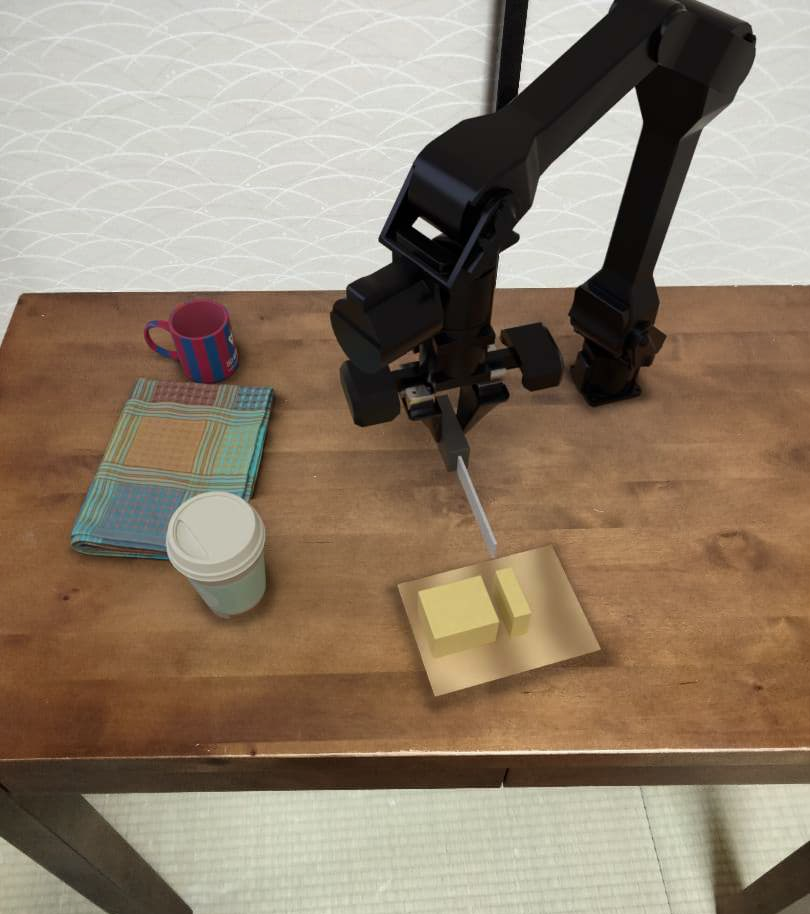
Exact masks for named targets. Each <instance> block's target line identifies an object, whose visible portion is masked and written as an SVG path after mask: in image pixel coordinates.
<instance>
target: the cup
mask: <svg viewBox="0 0 810 914" xmlns="http://www.w3.org/2000/svg"><path fill="white" fill-rule="evenodd" d="M153 328H159V329H163V330H165V331H167V332H168V333H170V335H171V338H172V341H173V345H174V348H175V350H170V349H166V348H164V347H162V346H159V345H158V344H157V343H156V342H155V341H154V340H153V338H152V337H151V335H150V330H151V329H153ZM143 337H144V340H145V343H146V344H147V346H148V348H149V349H151V350H152V351H153V352H154V353H156V354H158V355H160V356H162V357H165V358H167V359H173V360H177V361H179V363H180V366H181V369H182V371H183V374H184V375H185V376H186V377H187V378H188V379H190V380H191V381H193V382H195V383H205V384H214V383H218V382H222V381H224V380H227V378H229V377H230V376H232V375H233V374H234V372H235V371H237V368H238V366H239V362H240V358H239V353H238V350H237V346H236V341H235V336H234V333H233V328H232V323H231V319H230V316H229V312H228V310H227V308H226V307H225V306H224V305H223V304H221V302H218V301H216V300H213V299H207V298H206V299H205V298H201V299H192V300H189V301H186V302H184V303H181V304H180V305H178V306H177V307H176V308H174V309H173V310H172V312H171V313H170V315H169V317H168V321H167V320H161V319H160V320H159V319H154V320H150V321H148V322H147V323H146V324H145V326H144V328H143Z"/></svg>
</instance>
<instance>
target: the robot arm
mask: <svg viewBox="0 0 810 914" xmlns="http://www.w3.org/2000/svg"><path fill="white" fill-rule="evenodd" d="M756 45H757V35H756V34H754V31H753V27H752V24H750V23H749V22H748V21H746V20H744V19H741V18H738V17H736V16H734V15H732V14H730V13H728V12H724V11H722V10H720V9H718V8H716V7H713V6H711V5H709V4H706V3H704V2H701V1H699V0H613V1H612V3H611V4H610V6H609V9H608V11H607V13H606V14H605V15H604V16H603V17H602V18H601V19H599V21H597V22H596V23H595V24H594V25H593V26H592V27H591V28H590V29H589V30H588V31H586V32H585V33H584V34H583V35H582V36H581V37H580V38H579V39H578V40H576V42H574V43H573V44H572V45H571V46H570V47H569V48H568V49H567V50H566V51H565V52H563V53H562V54H561V55H560V56H559V57H558V58H557V59H556V60H555V61H554V62H552V63H551V64H550V65H549V66H548V67H547V68H546V69H544V71H542V72H541V73H540V74H539V75H538V76H537V77H535V79H533V80H532V81H531V82H530V83H529V84H528V85H527V86H526V87H525V88H524V89H523V90H522V91H520V93H518V94H517V95H516V96H515V97H513V99H512V100H511V101H509V103H507V104H506V105H504V106H503V107H502V108H500V109H498V110H497V111H494V112H491V113H486V114H481V115H477V116H473V117H469V118H465V119H462V120H461V121H459V122H457V123H456V124H455V125H453V126H451V127H450V128H448V129H447V130H446V131H444V132H443V133H441V134H439V135H438V136H436V137H435V138H433V139H432V140H431V141H430V142H428V143H427V144H426V145H424V147H423V148H422V149H421V150H420V151H419V153H417V155H416V157H415V158H414V160H413V161H412V164H411V166H410V168H409V171H408V173H407V174H406V177H405V179H404V182H403V183H402V186H401V188H400V190H399V192H398V194H397V197H396V199H395V201H394V203H393V205H392V207H391V210H390V212H389V214H388V216H387V218H386V220H385V223H384V225H383V227H382V228H381V231H380V232H379V235H378V238H377V241H378V243H379V244H381V245H382V246H383V247H385V248H386V249H388V250H389V251H390V252H391V262H390V263H388V264H386V265H384V266H382V267H381V268H379V269H377V270H375V271H374V272H372V273H370V274H368V275H365V276H361V277H359V278H357V279H355V280H353V281H351V282H350V283H348V284H347V285H346V286H345V292H346V294H345V295H343V296H342V297H340V298H338V299H336V300H335V301H334V303H333V304H332V309H331V310H330V311H329V319H330V324H331V328H332V332H333V335H334V336H335V338H336V341H337V343H338V345H339V346H340V348H341V350H342V351H343V353H344V354H345V356H346V357H347V358H348V359H347V360H343V362H342V364H341V365H340V367H339V369H338V370H339V380H340V385H341V388H342V392H343V394H344V397H345V400H346V403H347V406H348V410H349V413H350V415H351V418H352V422H353V425H355V426H358V427H359V428H367V427H373V426H377V425H382V424H386V423H390V422H393V421H394V420H395V419H396V418H397V417H399V415H400V414H401V412H402V410H401V407H403V409H404V411H405V415H406V417H407V419H408V420H409V421H410V422H422V424H423V425H424V426H425V427H426V428H427V429H428V430H429V432H430V435H431V436H432V439H433V441H434V443H435V444H436V443H439V442H440V439H441V436H442V410H441V408H440V406H439V403H438V401H437V398H436V396H437V393H439V392H444V391H448V390H453V389H459V394H458V400H457V408H456V411H455V413H456V416H457V418H458V421H459V423H460V425H461V428H462V430H463V432H464V435H465V436H466V435H467V434H468V433H469V432H470V431H471V430H472V429H473V428H474V427H475V426H476V425H477V424H478V423H479V422H480V421H481V420H482V419H483V418H484V417H485V416H488V414H489V413H491V412H492V411H493V410H494V409H495V408H497V407H498V406H499V405H501V404H504V403H507V402H509V400H510V397H511V394H510V391H509V389H508V387H507V385H506V383H505V382H506V379H505V378H506V377H507V375H508V370H509V371H510V370H514V369H518V370H519V371H520V373H521V382H520V383H521V386H522V387H523V389H526V390H527V391H529V392H530V393H532V392H533V393H534V392H537V391H542V390H546V389H547V390H548V389H552V388H556V387H559V386H560V385H561V383H562V381H563V378H564V374H565V370H566V369H565V368H566V365H565V357H564V355H563V353H562V351H561V350H560V348H559V346H558V344H557V343H556V341H555V339H554V337H553V335H552V334H551V332H550V330H549V328H548V327H547V325H545V323H543V322H542V321H537V322H534V323H528V324H523V325H518V326H512V327H508V328H503V329H501V330H500V332H499V333H500V334H499V341H500V343H501V344H502V345H503V346H505V347H504V348H500V349H498V348H497V346H496V336H497V333H496V332H495V329H494V328H493V325H492V316H493V307H494V298H495V288H496V281H497V271H498V264H499V256H500V254H501V253H502V252H504V251H506V250H507V249H509V248H511V247H513V246H514V245H516V244H517V243H519V241H520V238H521V235H520V233H519V232H517V231H515V230H514V229H515V228H516V226H517V224H518V223H519V222H520V221H521V220H522V219H523V218H524V217H525V215H526V214H527V213H528V212H529V211H530V210H531V209H532V207H533V204H534V201H535V197H536V193H537V189H538V185H539V181H540V178H541V177H542V175H544V173H545V172H546V171H547V170H548V169H549V167H550V166H551V165H552V164H553V163H554V162H556V161H557V160H558V159H559V158H560V157H561V156H562V155H563V154H564V153H565V152H566V151H568V149H569V148H571V147H572V146H573V145H574V144H575V143H577V141H578V140H579V139H580V138H581V137H583V136H584V135H585V134H586V132H588V131H589V130H590V129H591V128H592V127H593V126H594V125H595V124H596V123H597V122H599V121H600V120H601V119H602V118H603V117H604V116H605V115H606V114H607V113H608V112H609V111H611V110H612V109H613V108H614V107H615V106H616V105H617V104H618V103H619V102H620V101H621V100H623V98H624V97H626V95H627V94H629V93H630V92H631V91H632V90H633V89H634V90H635V95H636V99H637V104H638V107H639V111H640V115H641V120H642V124H641V129H640V132H639V135H638V139H637V143H636V147H635V150H634V153H633V157H632V159H631V160H632V161H631V164H630V168H629V171H628V175H627V178H626V183H625V185H624V190H623V192H622V196H621V200H620V203H619V207H618V210H617V214H616V217H615V221H614V224H613V228H612V232H611V235H610V238H609V242H608V246H607V248H606V253H605V256H604V260H603V263H602V266H601V268H600V269H599V270H598V271H597V272H595V273H594V274H593V275H591V276H590V277H589V278H587V280H585V281H584V282H583V283H582V284H580V285H577V287H576V288H575V289H574V294H573V301H572V303H571V307H570V309H569V311H568V313H567V316H568V317H569V323H570V325H571V326H572V327H573V328H572V329H573V332H574V333H575V334H577V335H580V336H581V337H583V338H584V339H583V342H582V346H581V349H580V350H578V351H577V354H576V357H575V363H573V364H572V363H571V364H570V365H569V369H568V370H569V372H570V374H571V378H572V380H573V382H574V383H575V385H576V386H577V388H578V391H579V392H580V393H581V394H582V395H583V397H584V398H585V400H586V402H587V404H588V405H589V406H590V407H597V406H602V405H605V404H606V405H607V404H610V403H614V402H617V401H622V400H627V399H631V398H636V397H640V396H641V395H642V393H643V389H642V387H641V386H640V384H639V383H638V382H637V380H638V377H639V374H640V370H641V368H649V367H651V366H652V365H653V363H654V360H655V358H656V355H657V354H658V353H660V351H661V350H662V349H663V346H664V343H665V341H666V340H667V337H668V335H667V334H666V333H664V332H663V331H661V330H660V329H659V328H657V327H656V326H655V323H656V319H657V315H658V312H659V309H660V303H661V302H660V297H659V293H658V289H657V285H656V281H655V277H654V273H655V269H656V266H657V264H658V260H659V257H660V254H661V251H662V248H663V245H664V242H665V239H666V237H667V233H668V230H669V227H670V225H671V222H672V219H673V216H674V213H675V210H676V208H677V204H678V202H679V198H680V196H681V193H682V190H683V188H684V187H683V186H684V184H685V181H686V178H687V175H688V172H689V169H690V167H691V164H692V160H693V158H694V155H695V152H696V149H697V146H698V143H699V141H700V137H701V135H702V132H703V130H704V128H705V127H707V126H708V125H709V124H710V123H711V122H712V121H713V120H715V119H716V118H717V117H718V116H719V115H720V114H721V113H722V112H724V111H725V110H726V109H727V108H728V107H729V106H730V105H731V104H732V103H733V102H734V100H735V98H736V96H737V93H738V91H739V88H740V87H741V86H742V84H743V83H744V82H745V80H746V79H747V77H748V76H749V75H750V72H751V70H752V67H753V65H754V63H755V59H756V55H757V48H756ZM419 219H421V220H423V221H424V222H426V223H427V224H428V225H431V227H433V228H434V229H435V230H437V231H439V232H440V233H439V234H438V235H436V236H434V237H432V238H429V237H428V236H427V235H426V234H424V233H422V231H419V230H418V229H416V228H415V227H414V225H415V223H416V222H417V221H418V220H419ZM409 352H412V354H415V355H416V354H418V360H415V361H411V362H406V363H400V364H397V366H396V369H394V370H391V369H390V364H392V363H394V362H396V361H398V359H400V358H402V357H403V356H405V355H406V354H408V353H409ZM401 403H402V406H401Z"/></svg>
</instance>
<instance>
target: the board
mask: <svg viewBox="0 0 810 914" xmlns="http://www.w3.org/2000/svg"><path fill="white" fill-rule="evenodd" d="M509 567H512V569H513V571H514V574H515V576H516V578H517V580H518V583H519V585H520V587H521V590H522V592H523V594H524V597H525V599H526V601H527V604H528V606H529V608H530V610H531V617H530V620H529V624H528V628H527V632H526V633H525V634H522V635H518V636H515V637H511V638H510V636H509V634H508V631H507V629H506V626H505V624H504V621H503V619H502V617H501V614H500V612H499V609H498V607H497V604H496V602H495V599H494V597H493V595H492V589H493V583H494V577H495V571H498V570H502V569H506V568H509ZM480 575H481V577H482V580H483V582H484V585H485V587H486V590H487V592H488V594H489V597H490V599H491V602H492V604H493V607H494V609H495V612H496V614H497V617H498V619H499V626H498V631H497V636H496V641H495V642H492V643H488V644H485V645H481V646H478V647H474V648H470V649H467V650H463V651H459V652H456V653H452V654H448V655H445V656H441V657H438V658H433V655H432V653H431V650H430V647H429V644H428V641H427V638H426V635H425V632H424V629H423V627H422V624H421V621H420V618H419V615H418V592H419V591H422V590H426V589H430V588H434V587H438V586H441V585H445V584H449V583H453V582H457V581H460V580H464V579H468V578H472V577H476V576H480ZM396 586H397V588H398V589H397V590H398V592H399V594H400V597H401V601H402V604H403V607H404V609H405V612H406V615H407V619H408V622H409V624H410V627H411V631H412V633H413V636H414V638H415V642H416V645H417V648H418V650H419V654H420V658H421V660H422V662H423V666H424V669H425V672H426V674H427V677H428V680H429V683H430V686H431V689H432V692H433V695H434V697H439V696H442V695H447V694H449V693H453V692H456V691H460V690H463V689H468V688H470V687H474V686H477V685H482V684H484V683H489V682H491V681H495V680H499V679H503V678H506V677H510V676H513V675H516V674H519V673H524V672H527V671H531V670H535V669H538V668H542V667H544V666H549V665H552V664H556V663H559V662H563V661H566V660H570V659H573V658H577V657H580V656H584V655H588V654H590V653H594V652H599V651H601V650H602V649H601V645H600V644H599V642H598V639H597V637H596V635H595V633H594V631H593V629H592V627H591V625H590V623H589V620H588V618H587V616H586V614H585V612H584V610H583V607H582V606H581V603H580V602H579V599H578V597H577V595H576V593H575V590H574V589H573V587H572V584H571V582H570V580H569V578H568V576H567V574H566V572H565V570H564V568H563V566H562V563H561V561H560V559H559V557H558V555H557V552H556V551H555V548H554V547H553V545H552V544H548V545H545V546H541V547H537V548H533V549H529V550H525V551H521V552H518V553H513V554H510V555H506V556H501V557H498V558H493V559H491V560H487V561H483V562H479V563H475V564H471V565H467V566H464V567H459V568H455V569H451V570H448V571H444V572H440V573H436V574H433V575H429V576H425V577H420V578H417V579H413V580H409V581H405V582H401V583H398V584H397V585H396Z"/></svg>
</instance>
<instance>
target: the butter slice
mask: <svg viewBox="0 0 810 914" xmlns="http://www.w3.org/2000/svg"><path fill="white" fill-rule="evenodd" d="M492 595H493V597H494V599H495V602H496V604H497V607H498V609H499V612H500V614H501V617H502V619H503V621H504V624H505V626H506V629H507V631H508V634H509V636H510V638H511V637H515V636H518V635H522V634H525V633H526V632H527V628H528V624H529V620H530V617H531V610H530V608H529V606H528V604H527V601H526V599H525V597H524V594H523V592H522V590H521V587H520V585H519V583H518V580H517V578H516V576H515V574H514V571H513V569H512V567H509V568H506V569H502V570H498V571H495V577H494V583H493V589H492Z"/></svg>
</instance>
